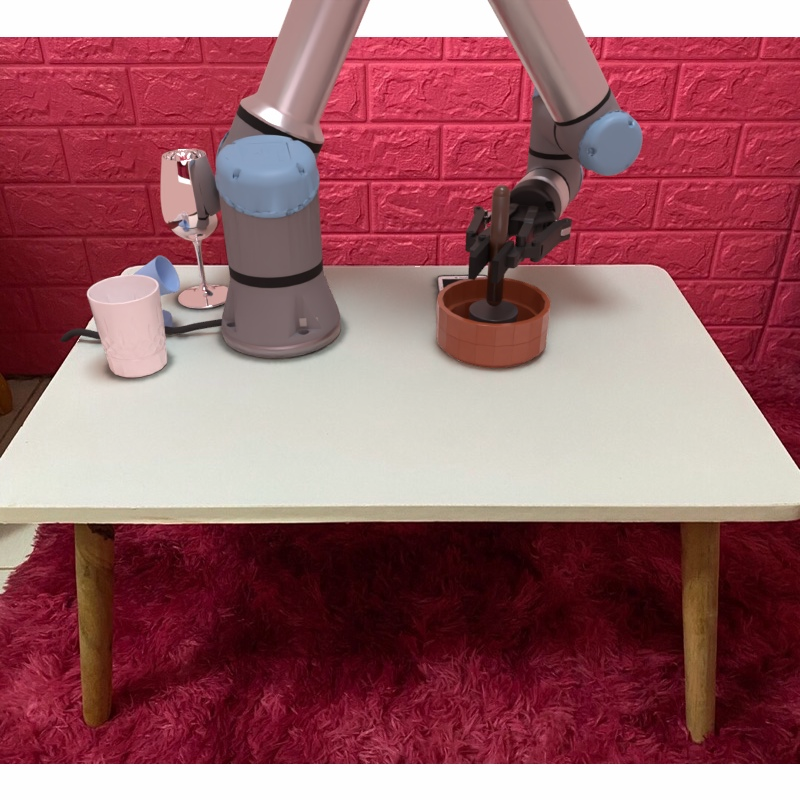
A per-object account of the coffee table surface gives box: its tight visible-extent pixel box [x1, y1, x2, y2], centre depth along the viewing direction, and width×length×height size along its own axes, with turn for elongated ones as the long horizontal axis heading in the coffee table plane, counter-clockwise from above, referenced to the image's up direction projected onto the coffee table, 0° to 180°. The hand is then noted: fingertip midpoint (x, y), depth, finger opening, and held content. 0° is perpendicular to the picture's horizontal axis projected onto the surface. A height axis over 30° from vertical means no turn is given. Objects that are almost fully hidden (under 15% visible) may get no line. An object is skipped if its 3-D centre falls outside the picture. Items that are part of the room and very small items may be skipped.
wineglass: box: [159, 148, 228, 310], centre depth 104 cm, size 8×8×20 cm
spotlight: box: [132, 255, 181, 335], centre depth 99 cm, size 5×10×7 cm
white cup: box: [86, 274, 168, 378], centre depth 91 cm, size 8×8×10 cm
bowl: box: [435, 277, 552, 369], centre depth 96 cm, size 14×14×6 cm
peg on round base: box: [469, 184, 518, 324], centre depth 92 cm, size 6×6×20 cm
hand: (483, 270), depth 87 cm, fingers closed on peg on round base, 2 cm apart
